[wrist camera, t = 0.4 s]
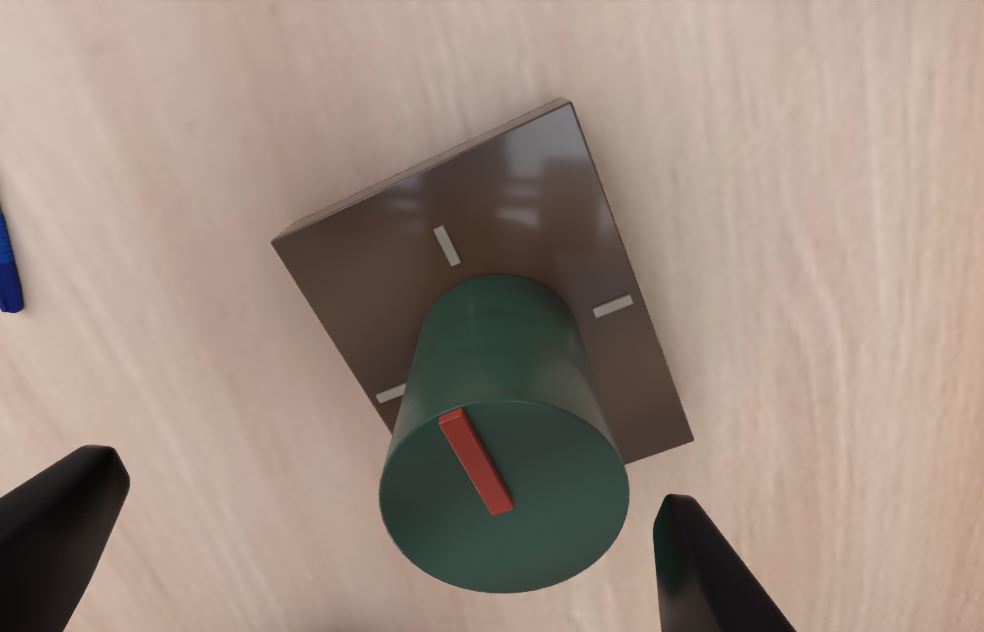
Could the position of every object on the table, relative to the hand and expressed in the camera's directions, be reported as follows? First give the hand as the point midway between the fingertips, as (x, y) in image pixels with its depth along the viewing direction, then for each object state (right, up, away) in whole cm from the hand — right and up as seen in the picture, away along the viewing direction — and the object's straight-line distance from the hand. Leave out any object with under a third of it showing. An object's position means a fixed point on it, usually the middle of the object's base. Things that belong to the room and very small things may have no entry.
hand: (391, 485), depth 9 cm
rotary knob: (+2, +1, +11) cm, 12 cm away
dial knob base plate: (+2, +3, +14) cm, 14 cm away
